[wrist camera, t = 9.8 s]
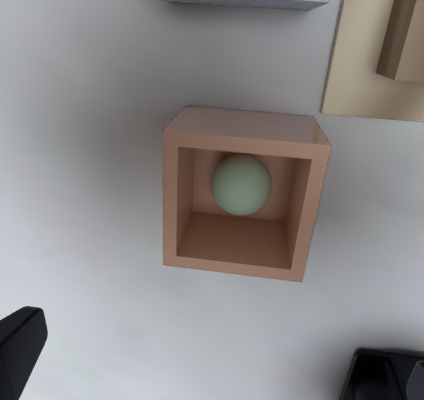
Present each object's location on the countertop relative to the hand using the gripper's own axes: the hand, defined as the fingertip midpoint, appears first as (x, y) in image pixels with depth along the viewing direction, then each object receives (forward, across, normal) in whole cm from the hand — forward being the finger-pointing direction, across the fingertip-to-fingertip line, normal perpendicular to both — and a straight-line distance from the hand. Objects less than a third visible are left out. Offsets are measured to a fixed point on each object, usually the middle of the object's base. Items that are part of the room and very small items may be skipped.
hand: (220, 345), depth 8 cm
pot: (+12, 0, 0) cm, 12 cm away
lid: (+13, -7, -7) cm, 16 cm away
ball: (+11, 0, 0) cm, 11 cm away
